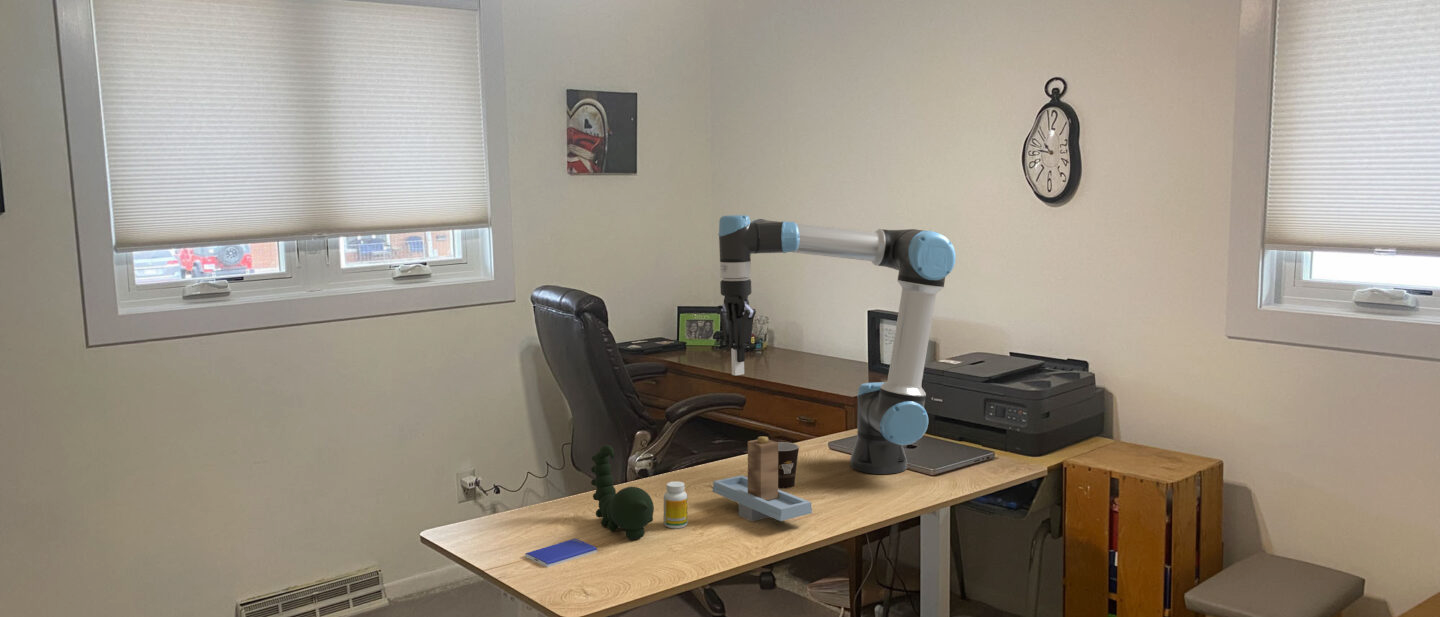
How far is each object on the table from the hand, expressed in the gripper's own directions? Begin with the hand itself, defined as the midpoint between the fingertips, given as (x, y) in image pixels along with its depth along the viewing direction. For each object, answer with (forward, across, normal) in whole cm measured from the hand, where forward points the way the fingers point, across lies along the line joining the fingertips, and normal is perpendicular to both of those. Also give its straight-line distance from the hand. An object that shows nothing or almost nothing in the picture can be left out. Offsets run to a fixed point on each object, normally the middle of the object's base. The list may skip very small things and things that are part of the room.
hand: (738, 374), depth 254 cm
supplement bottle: (+30, +12, -27) cm, 41 cm away
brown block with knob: (+25, +18, -7) cm, 32 cm away
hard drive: (+30, +13, -56) cm, 65 cm away
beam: (+30, +17, -7) cm, 35 cm away
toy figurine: (+29, +8, -38) cm, 49 cm away
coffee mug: (+30, 0, +11) cm, 32 cm away
